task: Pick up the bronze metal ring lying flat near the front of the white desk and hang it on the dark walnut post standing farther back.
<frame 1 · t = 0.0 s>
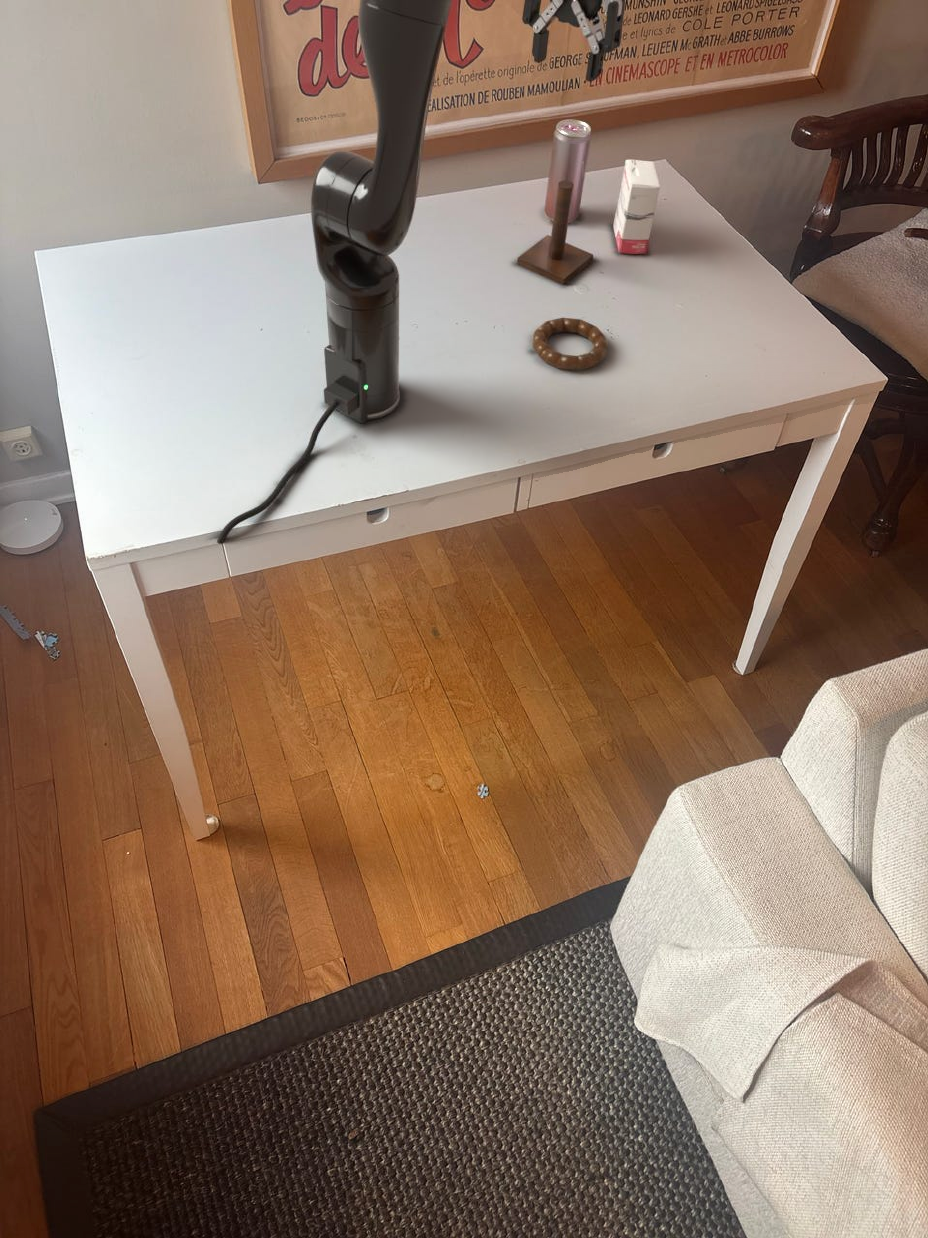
hand: (565, 70, 134), 29 cm above the table, tool pointing down, fingers open, 8 cm apart
post: (554, 262, 157), on the table
ink box: (628, 241, 163), on the table
ring: (570, 343, 143), point 1 cm above the table
beverage can: (561, 216, 166), on the table
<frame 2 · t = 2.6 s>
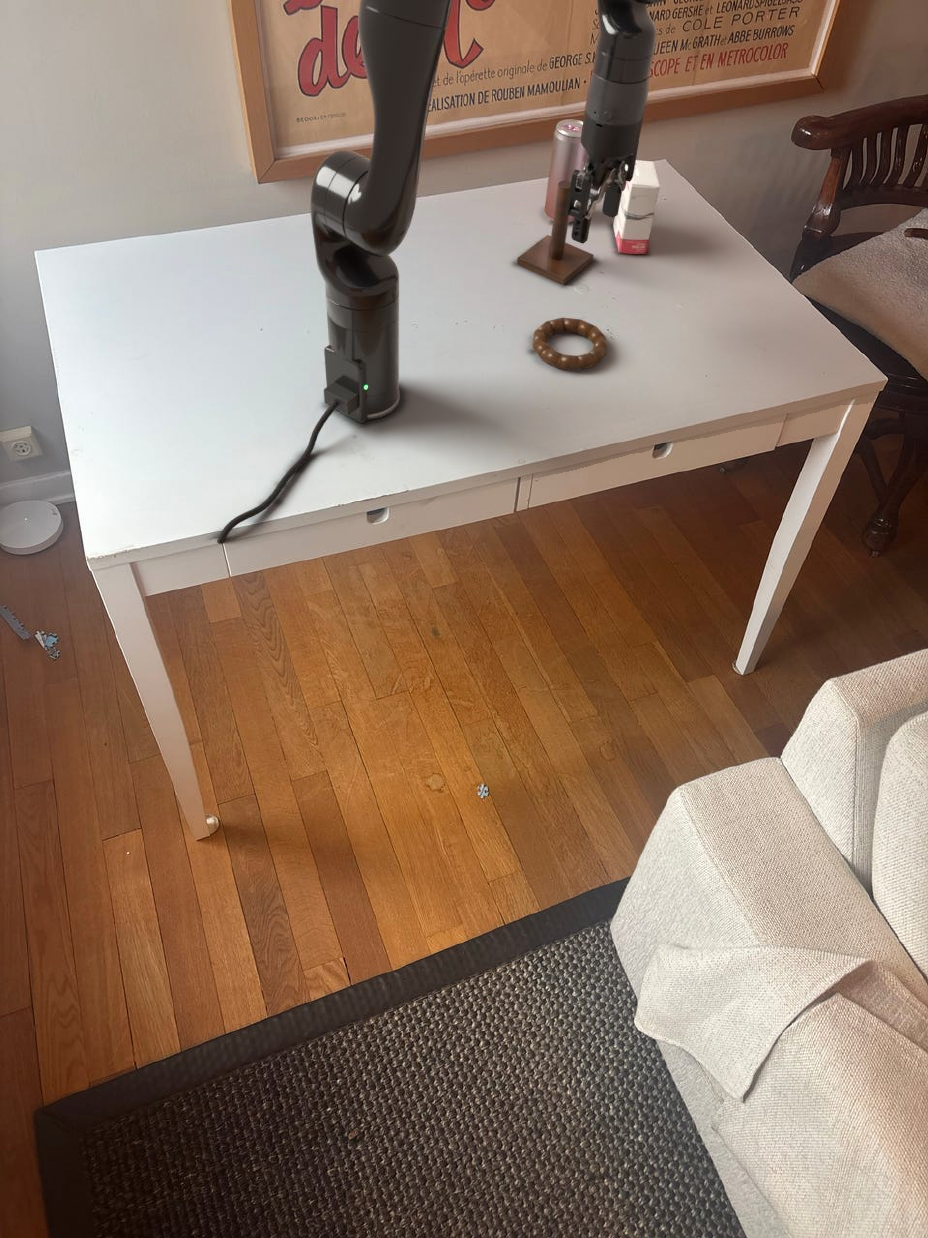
hand: (594, 227, 135), 16 cm above the table, tool pointing down, fingers open, 8 cm apart
nothing on the table moved.
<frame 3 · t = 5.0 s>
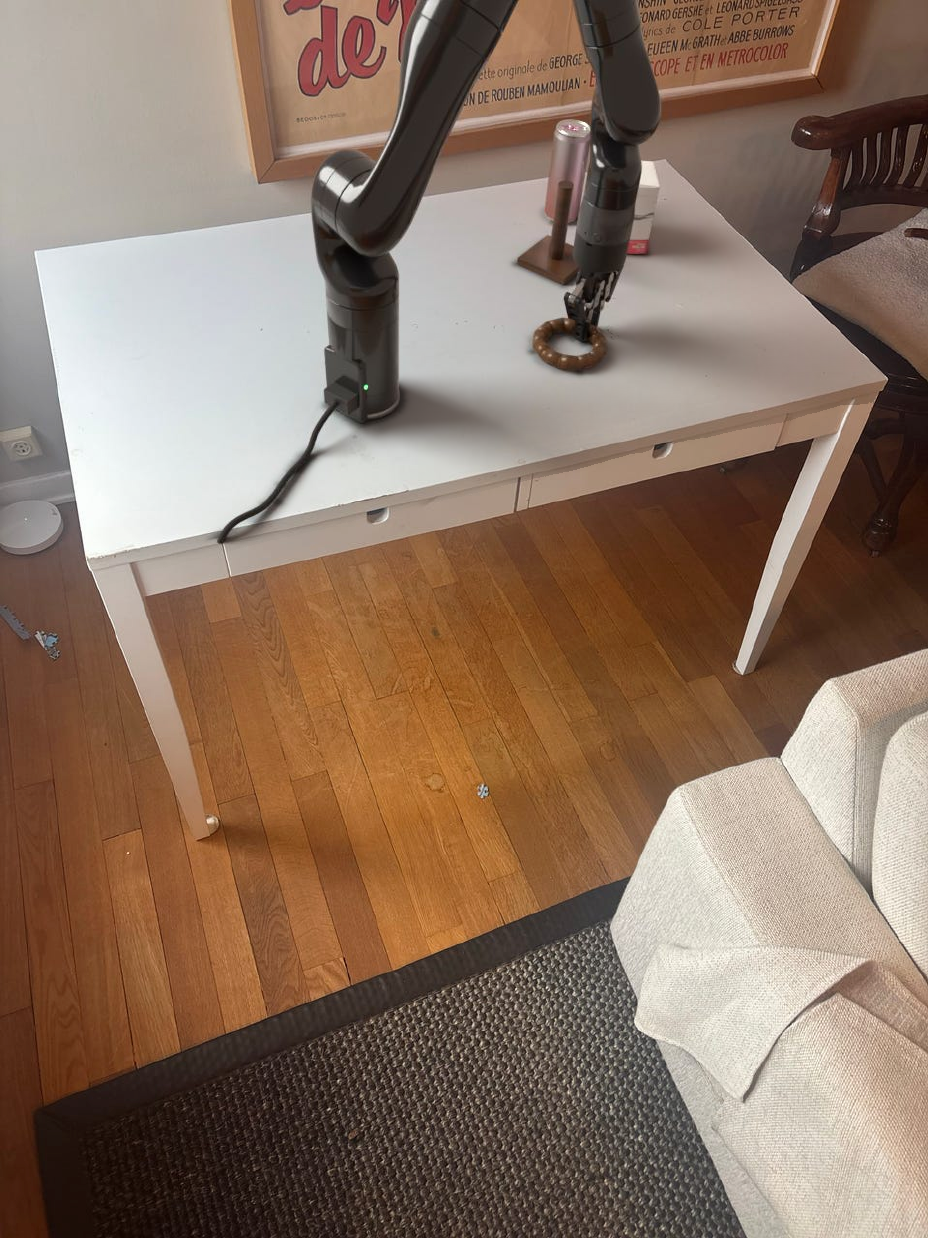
hand: (584, 334, 146), 0 cm above the table, tool pointing down, fingers closed on ring, 2 cm apart
ring: (569, 343, 143), point 1 cm above the table, touching gripper
everything else where it was.
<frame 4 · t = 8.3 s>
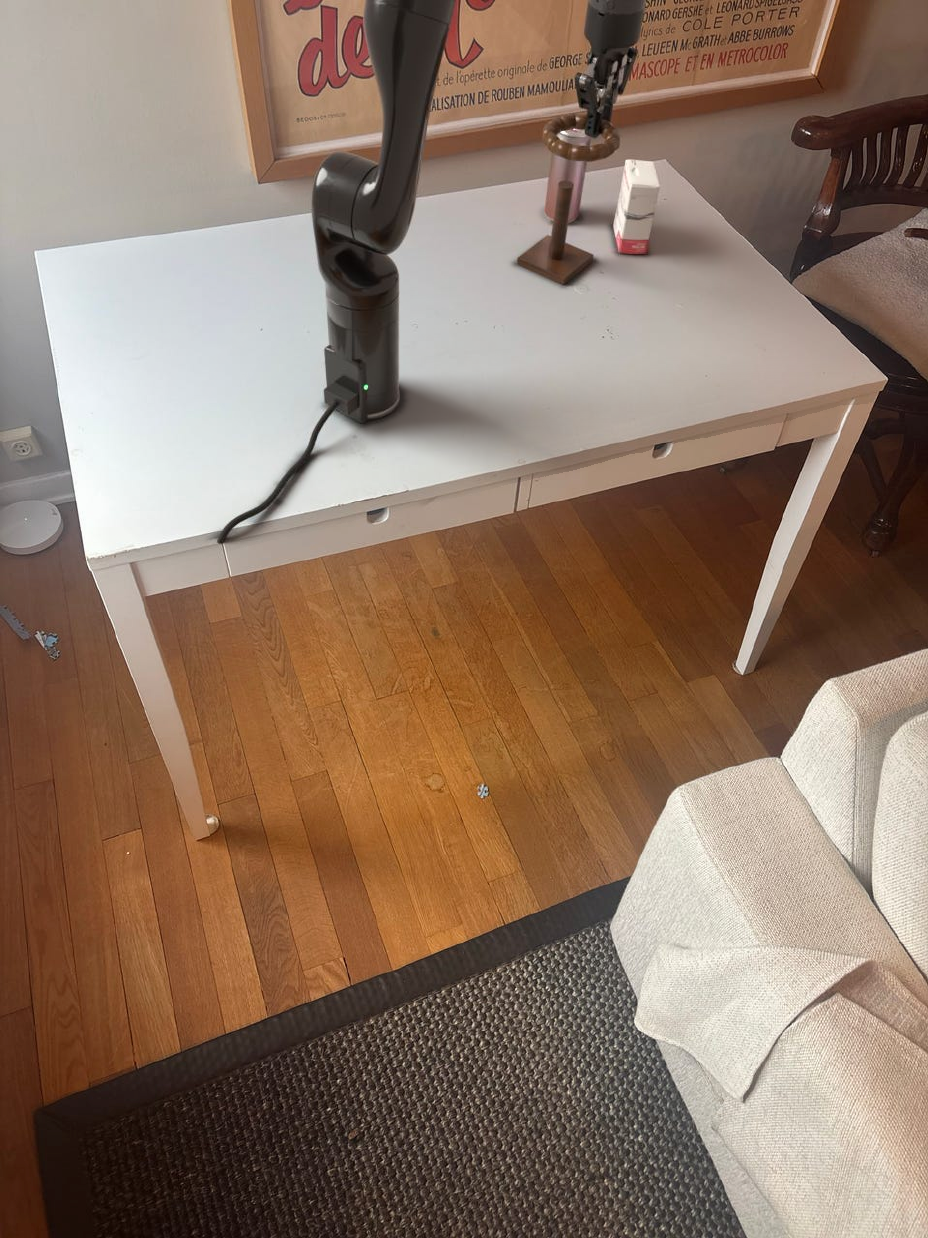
hand: (596, 131, 140), 22 cm above the table, tool pointing down, fingers closed on ring
ring: (581, 137, 137), point 22 cm above the table, touching gripper
everything else where it was.
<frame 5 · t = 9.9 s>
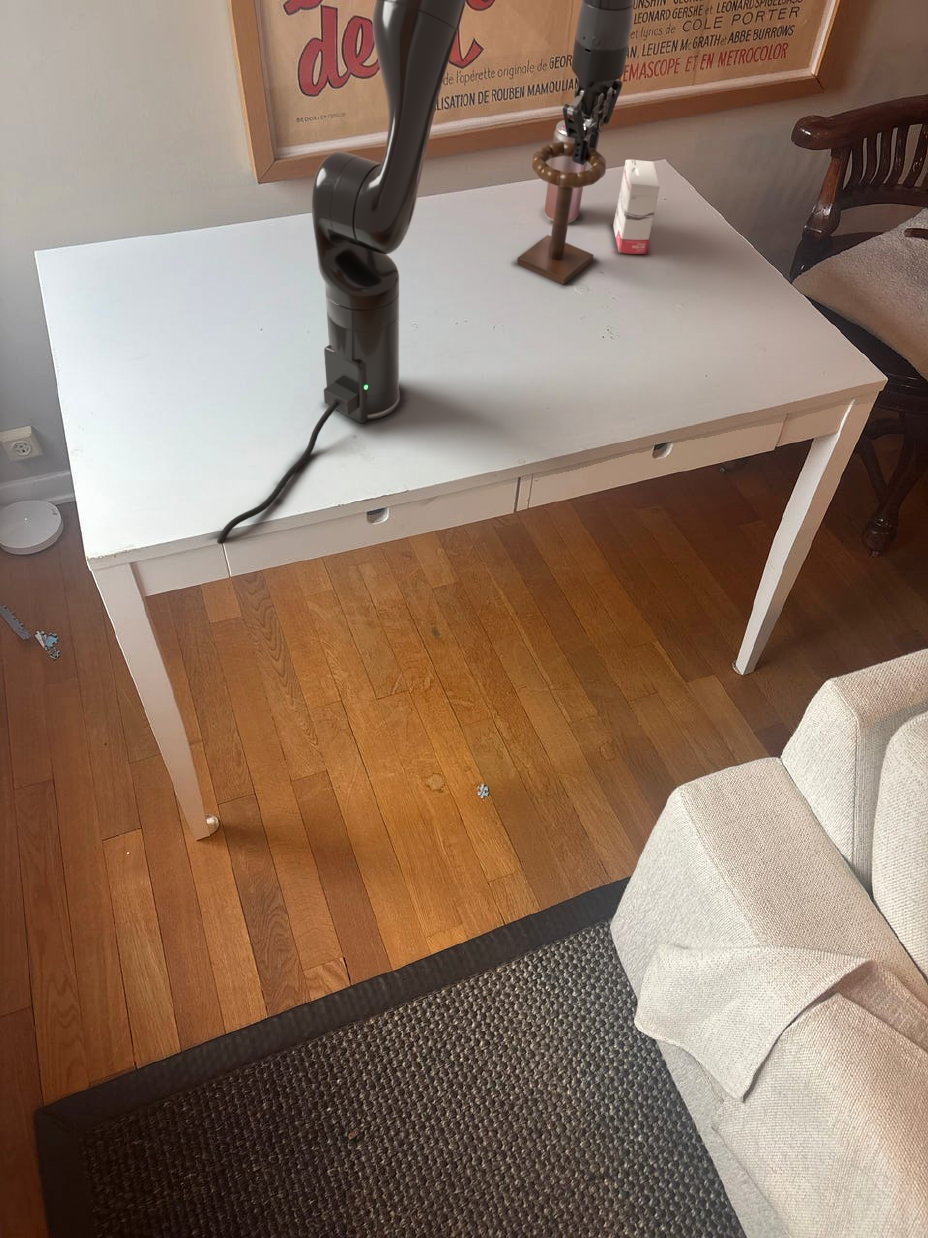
hand: (583, 158, 147), 15 cm above the table, tool pointing down, fingers closed on ring
ring: (569, 164, 144), point 16 cm above the table, touching gripper
everything else where it was.
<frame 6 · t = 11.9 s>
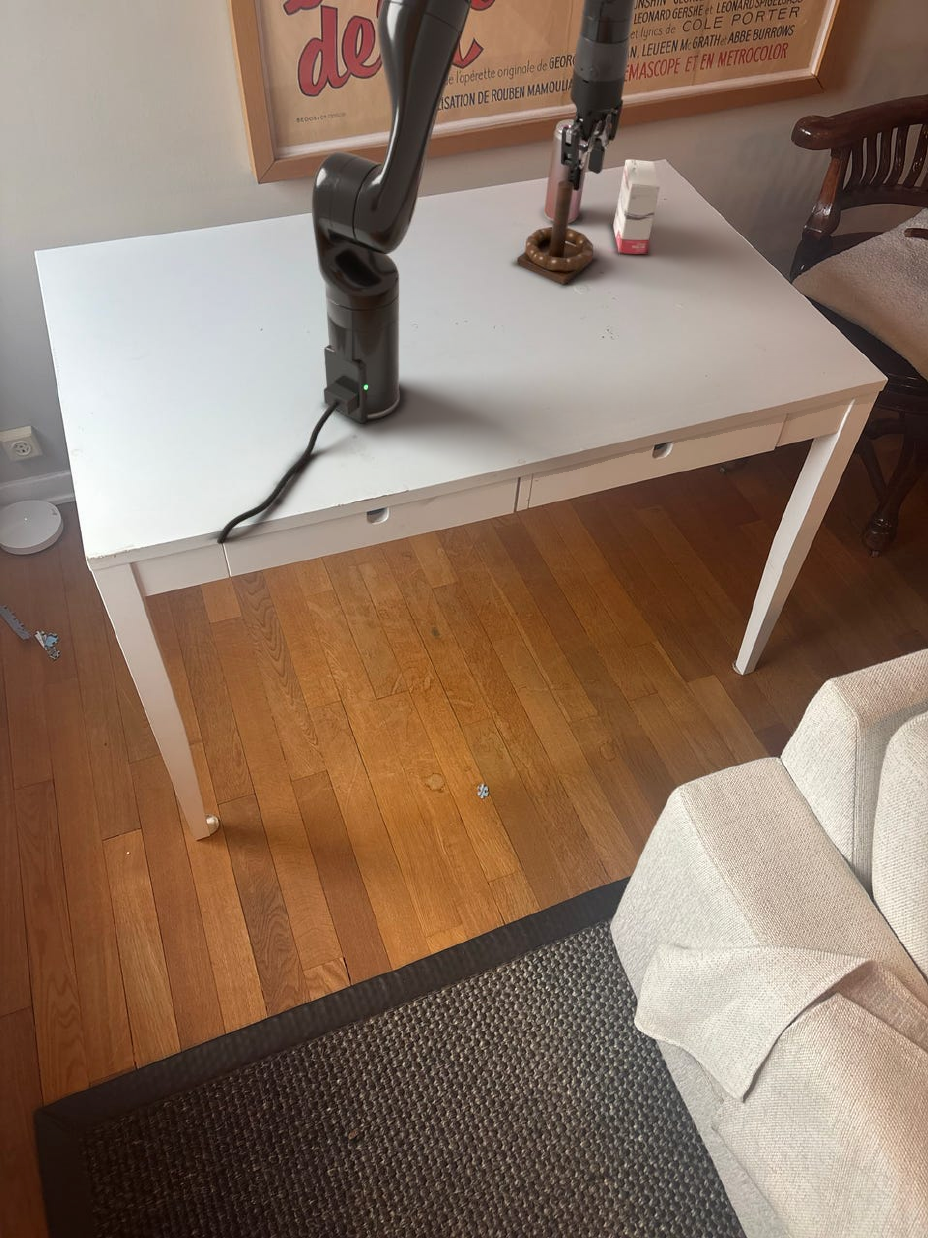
hand: (584, 179, 151), 12 cm above the table, tool pointing down, fingers open, 5 cm apart
ring: (559, 248, 156), point 2 cm above the table, touching post
everything else where it was.
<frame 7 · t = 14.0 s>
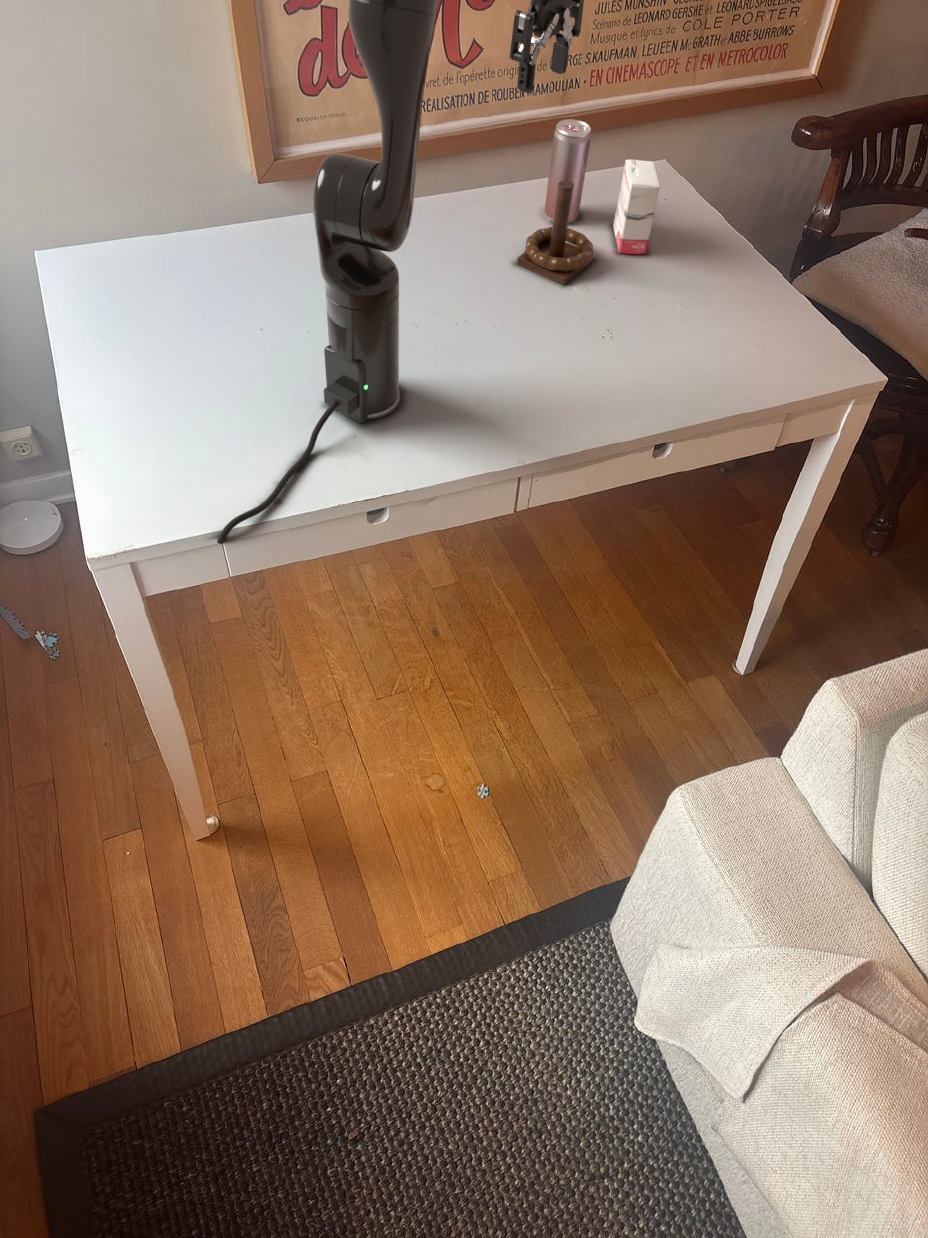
hand: (541, 81, 138), 27 cm above the table, tool pointing down, fingers open, 8 cm apart
nothing on the table moved.
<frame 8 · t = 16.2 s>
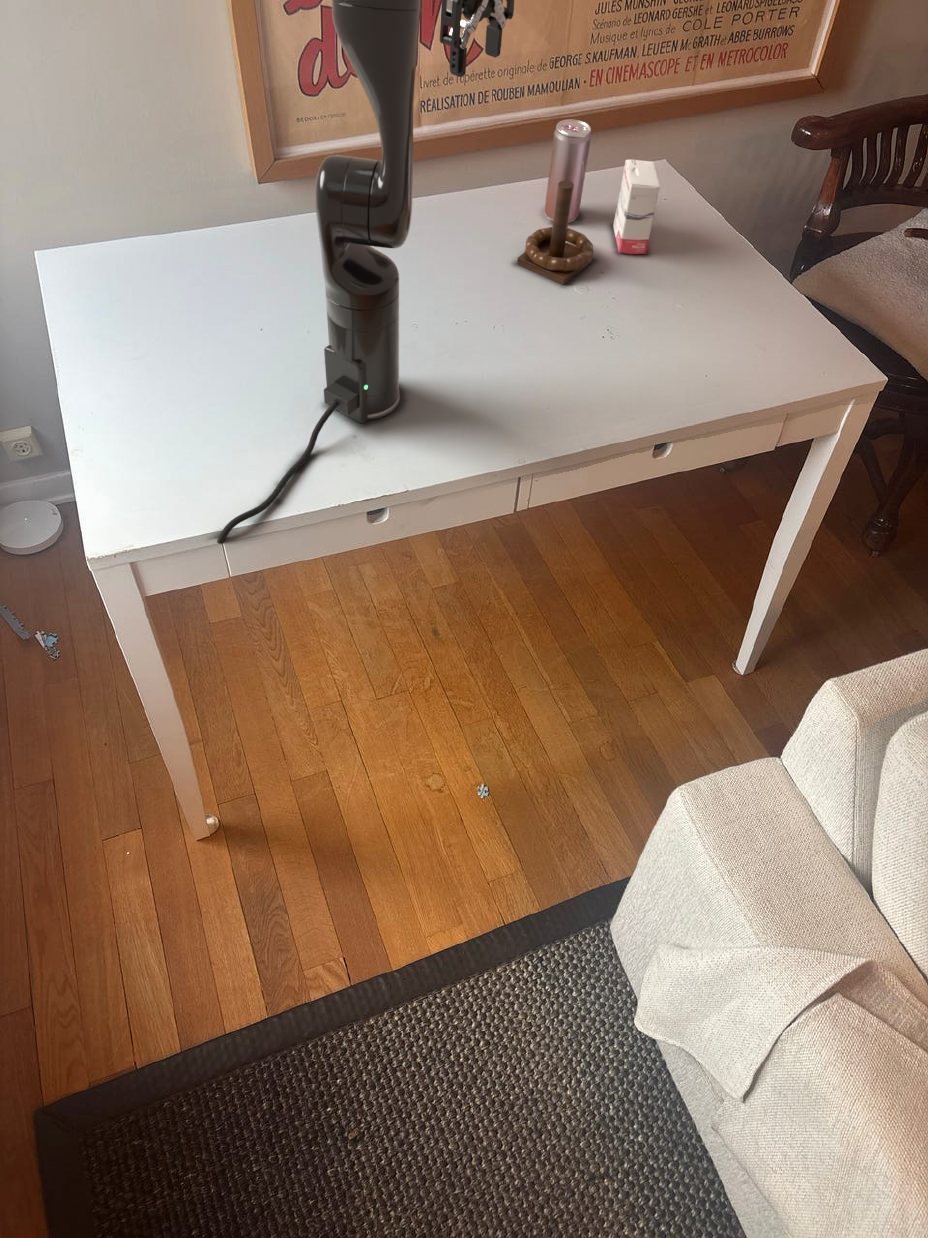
hand: (475, 64, 136), 28 cm above the table, tool pointing down, fingers open, 8 cm apart
nothing on the table moved.
at the end: ring 0.7 cm off-centre on the post, point 2.2 cm above the post's base; the gripper is holding nothing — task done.
